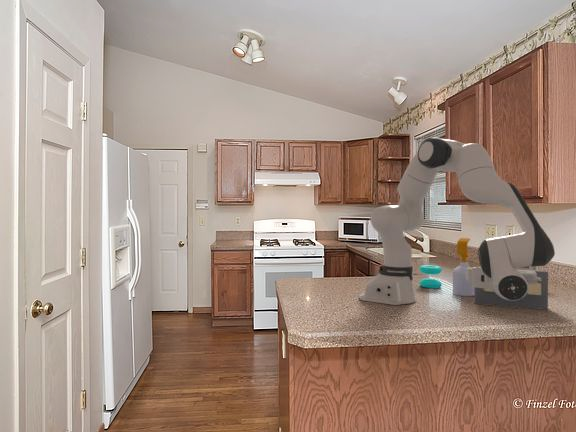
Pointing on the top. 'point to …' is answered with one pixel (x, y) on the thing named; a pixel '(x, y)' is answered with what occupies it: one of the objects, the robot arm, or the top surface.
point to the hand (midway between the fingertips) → (496, 272)
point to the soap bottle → (462, 272)
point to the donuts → (432, 270)
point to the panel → (525, 302)
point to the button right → (534, 289)
